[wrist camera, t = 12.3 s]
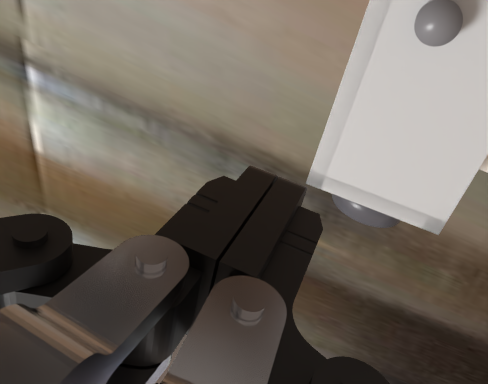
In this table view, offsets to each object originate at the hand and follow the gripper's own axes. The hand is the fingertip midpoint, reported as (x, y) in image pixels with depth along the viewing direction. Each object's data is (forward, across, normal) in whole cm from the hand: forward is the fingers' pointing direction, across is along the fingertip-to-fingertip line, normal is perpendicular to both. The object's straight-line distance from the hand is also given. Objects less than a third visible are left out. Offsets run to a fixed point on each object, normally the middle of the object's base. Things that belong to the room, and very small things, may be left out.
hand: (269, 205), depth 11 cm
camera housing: (+29, -4, +3) cm, 29 cm away
